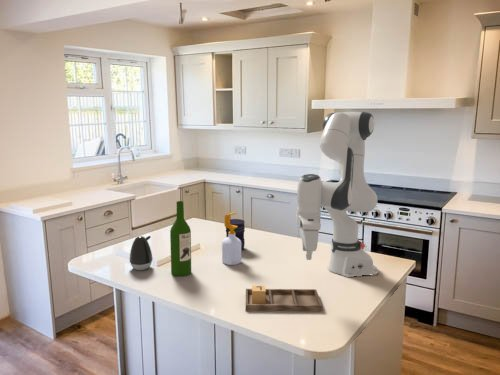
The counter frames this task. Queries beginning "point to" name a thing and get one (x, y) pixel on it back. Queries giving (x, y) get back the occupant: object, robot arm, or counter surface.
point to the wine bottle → (180, 244)
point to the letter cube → (258, 294)
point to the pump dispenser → (141, 253)
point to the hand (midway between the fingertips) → (306, 254)
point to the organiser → (286, 300)
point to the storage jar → (238, 230)
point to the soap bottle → (231, 245)
